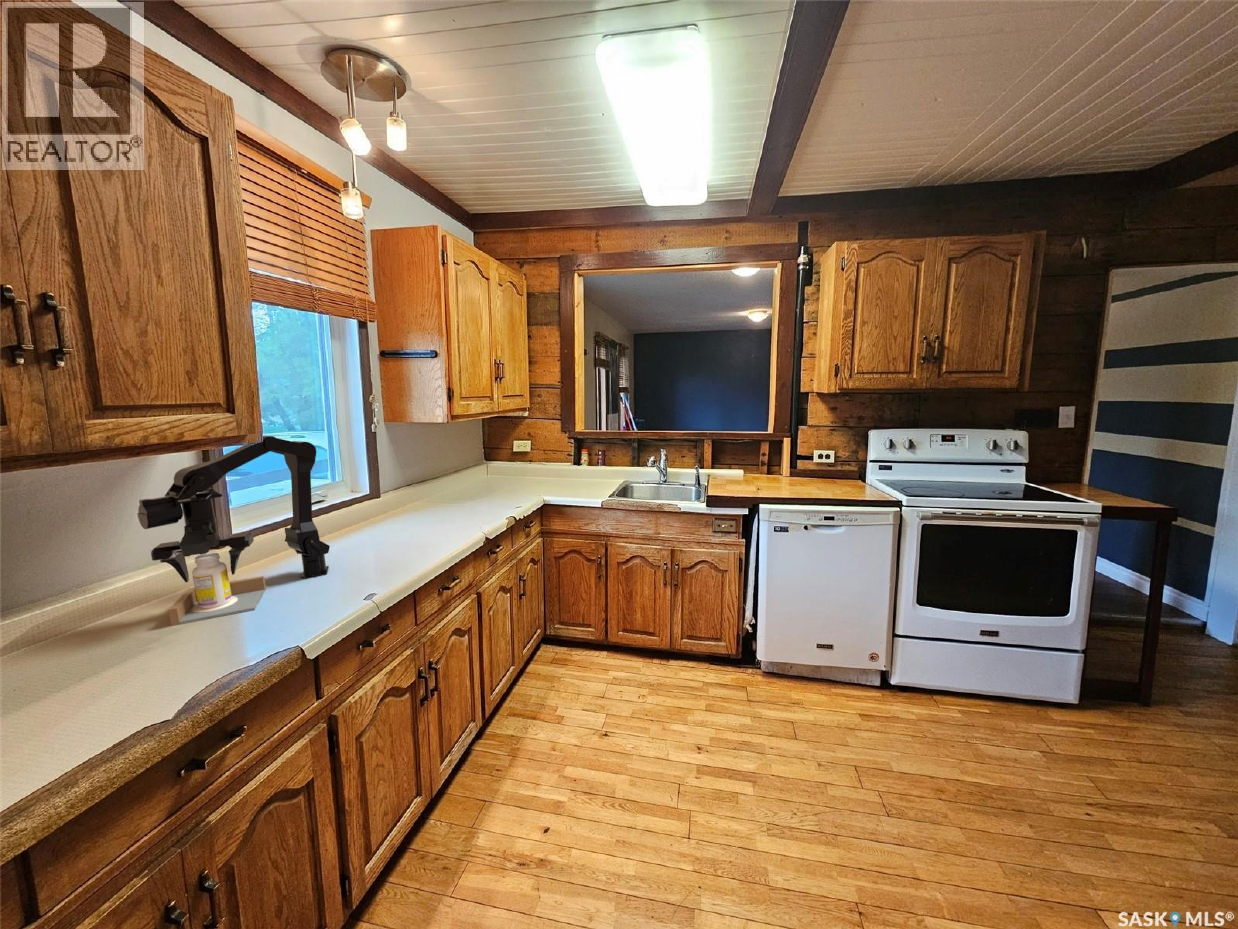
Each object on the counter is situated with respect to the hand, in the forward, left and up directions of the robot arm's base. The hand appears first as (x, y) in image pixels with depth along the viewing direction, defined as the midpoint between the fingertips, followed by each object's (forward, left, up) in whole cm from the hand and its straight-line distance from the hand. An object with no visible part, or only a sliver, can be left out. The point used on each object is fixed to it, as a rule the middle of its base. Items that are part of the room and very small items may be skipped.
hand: (210, 577), depth 120 cm
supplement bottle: (0, 0, -7) cm, 7 cm away
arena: (+1, +1, -8) cm, 8 cm away
